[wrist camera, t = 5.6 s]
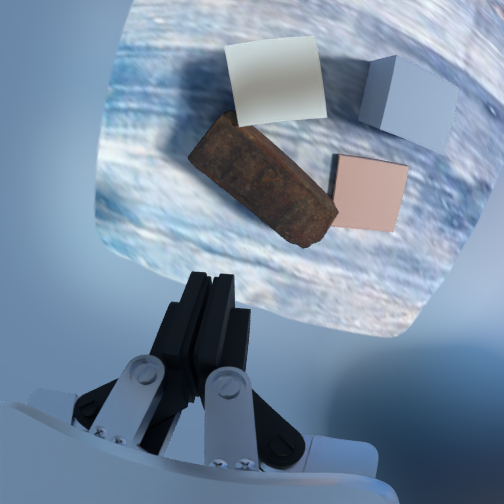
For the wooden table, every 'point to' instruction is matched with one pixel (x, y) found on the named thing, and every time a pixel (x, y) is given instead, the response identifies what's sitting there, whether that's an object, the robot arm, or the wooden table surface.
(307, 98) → the pale grey cube
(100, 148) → the wooden table surface
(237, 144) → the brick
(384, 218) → the tile
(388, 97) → the slate block
